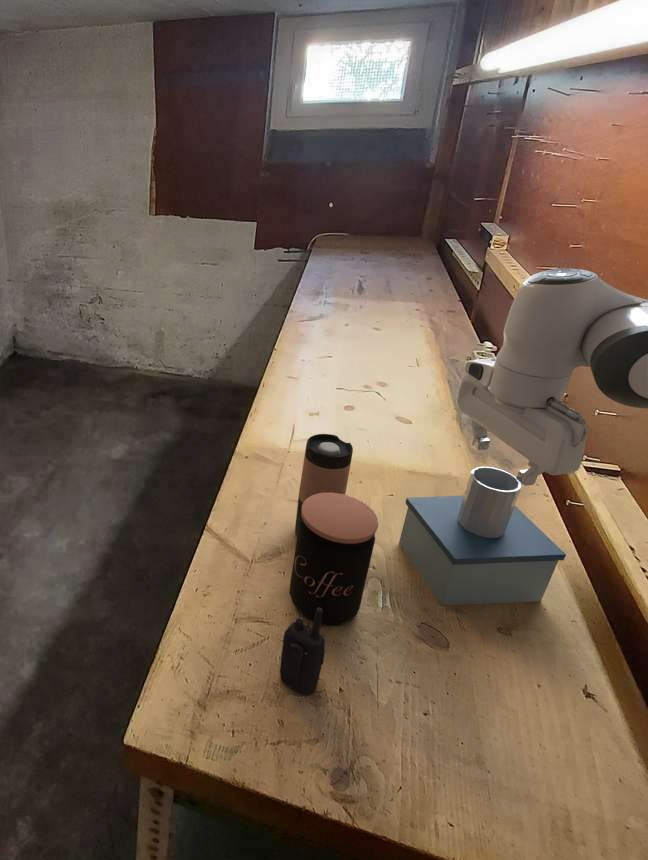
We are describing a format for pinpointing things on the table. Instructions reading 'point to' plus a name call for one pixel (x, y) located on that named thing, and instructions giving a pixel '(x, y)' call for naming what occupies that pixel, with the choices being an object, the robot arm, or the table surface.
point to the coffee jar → (332, 557)
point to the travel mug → (324, 468)
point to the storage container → (476, 555)
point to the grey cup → (488, 501)
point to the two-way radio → (302, 655)
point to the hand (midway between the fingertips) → (501, 464)
